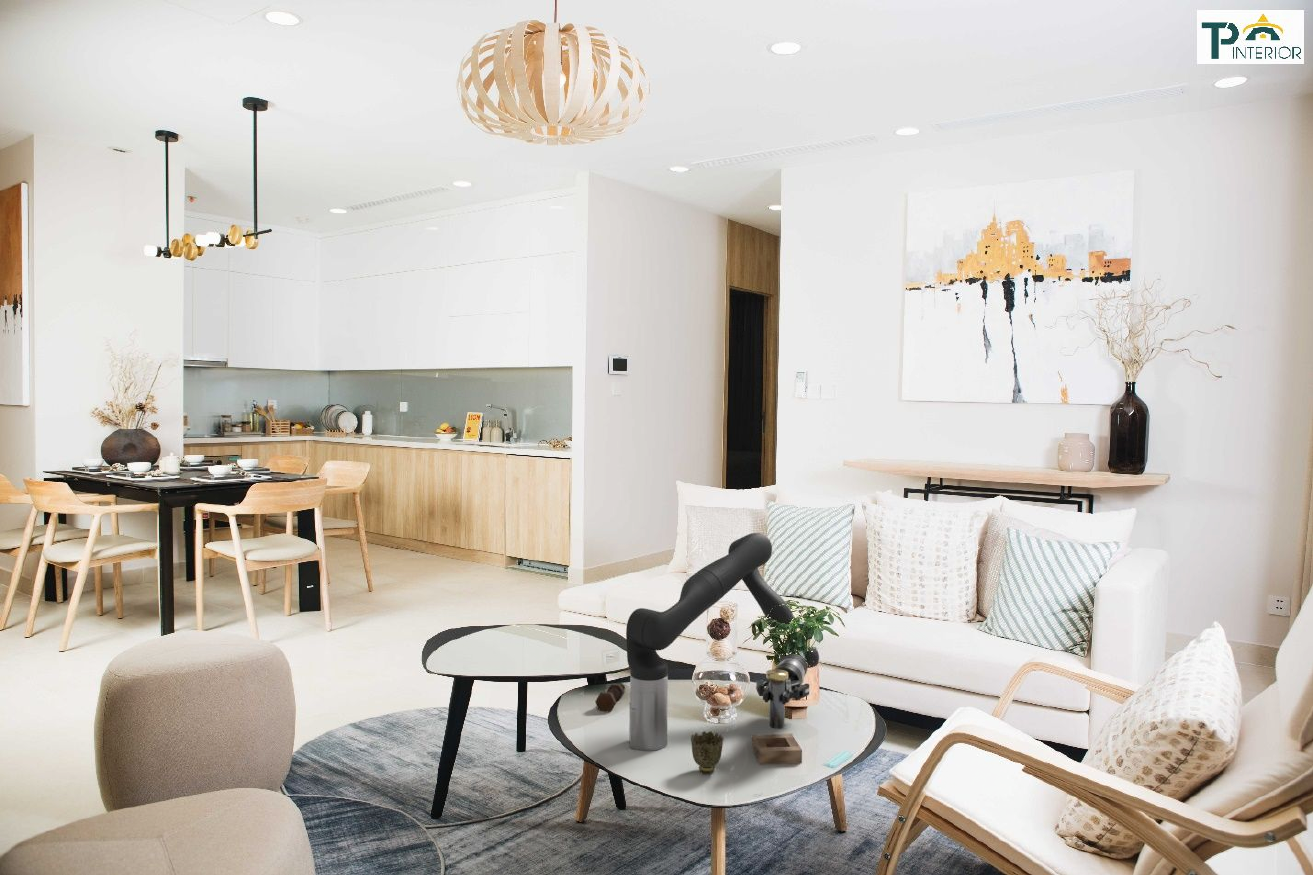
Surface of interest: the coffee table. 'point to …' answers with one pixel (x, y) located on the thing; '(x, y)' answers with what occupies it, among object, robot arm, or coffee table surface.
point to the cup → (707, 750)
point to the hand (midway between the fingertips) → (774, 699)
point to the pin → (777, 697)
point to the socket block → (776, 749)
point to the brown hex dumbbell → (610, 697)
